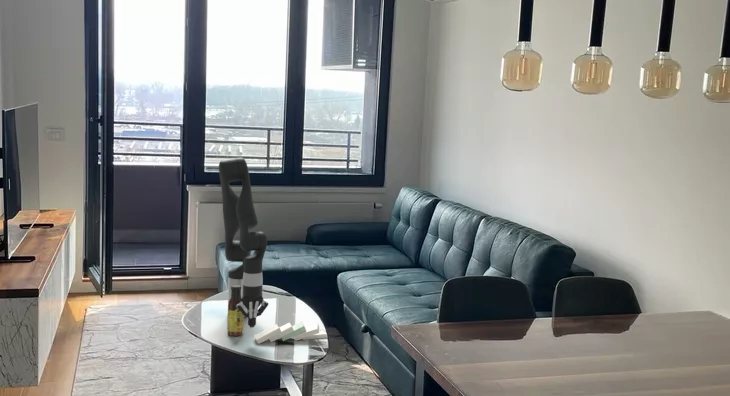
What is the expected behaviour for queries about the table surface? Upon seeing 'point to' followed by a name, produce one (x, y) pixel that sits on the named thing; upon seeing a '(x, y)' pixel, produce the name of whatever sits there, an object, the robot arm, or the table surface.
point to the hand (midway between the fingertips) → (251, 326)
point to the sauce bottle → (235, 312)
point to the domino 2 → (282, 332)
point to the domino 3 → (297, 329)
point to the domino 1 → (267, 333)
